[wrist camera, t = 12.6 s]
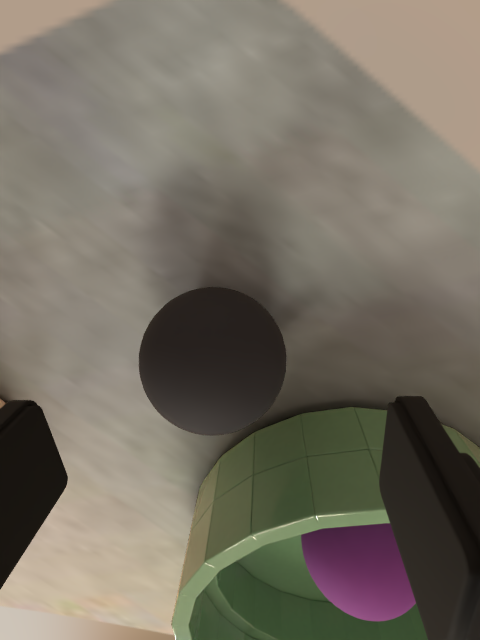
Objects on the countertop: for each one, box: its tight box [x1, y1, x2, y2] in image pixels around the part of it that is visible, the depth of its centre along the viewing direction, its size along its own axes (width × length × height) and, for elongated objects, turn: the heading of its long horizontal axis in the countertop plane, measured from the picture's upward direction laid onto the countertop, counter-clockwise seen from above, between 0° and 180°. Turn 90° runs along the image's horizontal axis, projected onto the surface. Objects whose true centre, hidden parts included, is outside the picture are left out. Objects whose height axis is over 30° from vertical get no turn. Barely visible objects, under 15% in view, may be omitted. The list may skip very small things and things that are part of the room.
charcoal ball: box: [139, 287, 286, 435], centre depth 13 cm, size 6×6×6 cm
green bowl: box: [171, 407, 480, 640], centre depth 18 cm, size 18×18×6 cm
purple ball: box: [301, 523, 416, 621], centre depth 16 cm, size 6×6×6 cm
